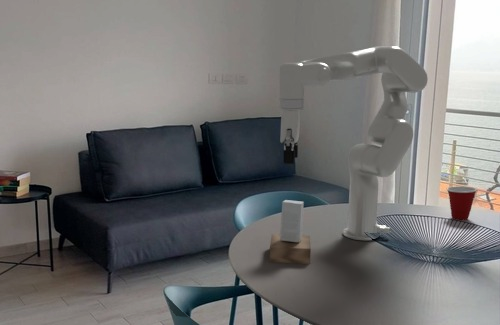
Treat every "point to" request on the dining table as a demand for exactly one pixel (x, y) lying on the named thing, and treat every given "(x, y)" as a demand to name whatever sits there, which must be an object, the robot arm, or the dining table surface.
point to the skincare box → (291, 221)
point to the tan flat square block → (290, 250)
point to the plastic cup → (461, 201)
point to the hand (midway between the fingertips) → (290, 160)
